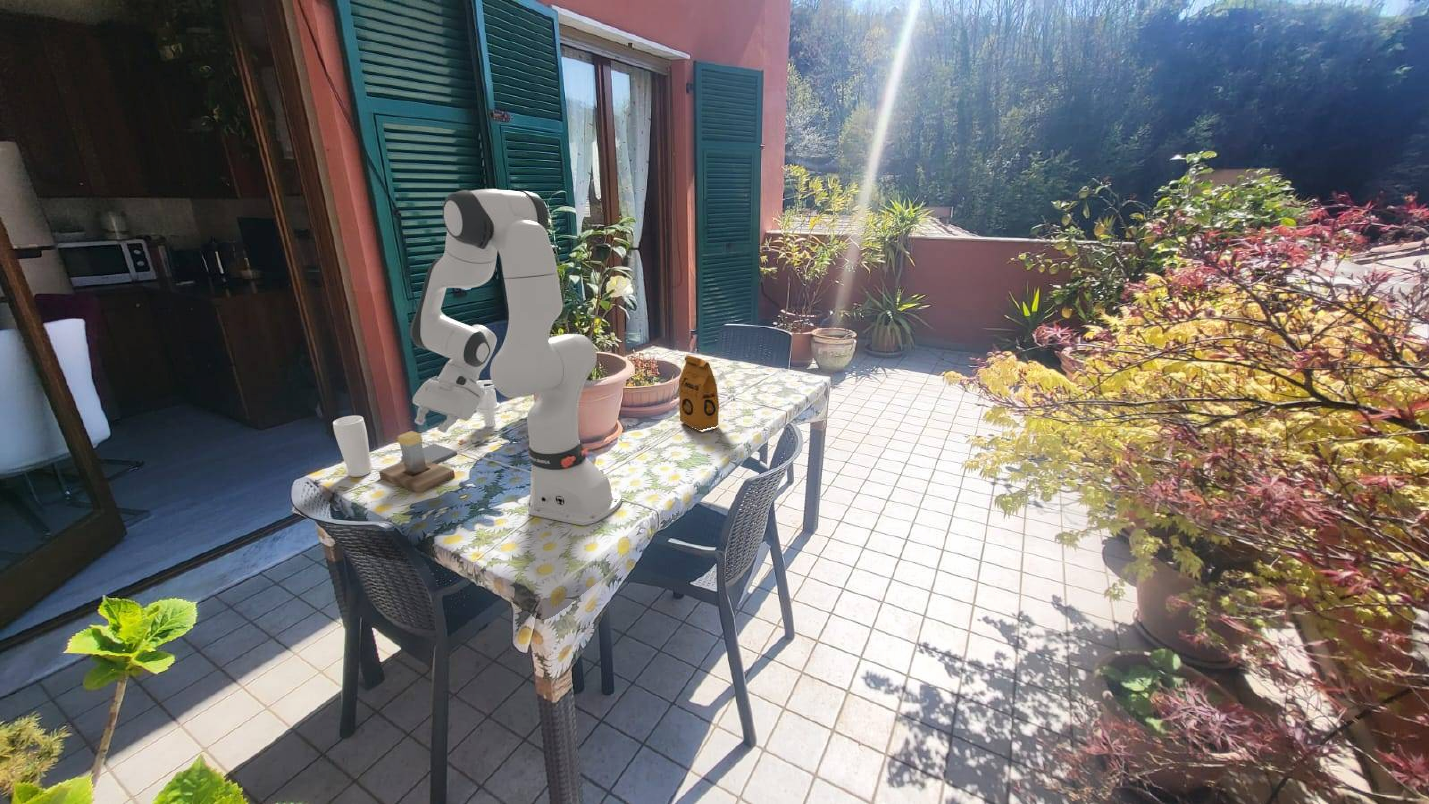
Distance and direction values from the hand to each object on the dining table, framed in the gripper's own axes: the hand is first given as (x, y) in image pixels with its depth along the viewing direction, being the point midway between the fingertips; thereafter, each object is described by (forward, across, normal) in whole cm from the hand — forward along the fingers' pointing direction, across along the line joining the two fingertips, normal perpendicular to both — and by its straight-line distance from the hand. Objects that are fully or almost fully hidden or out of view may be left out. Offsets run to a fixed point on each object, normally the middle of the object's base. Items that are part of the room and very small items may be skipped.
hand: (429, 427), depth 147 cm
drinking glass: (+17, -15, 0) cm, 22 cm away
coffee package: (-34, +45, +51) cm, 76 cm away
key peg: (+12, 0, +4) cm, 13 cm away
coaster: (+6, -8, +11) cm, 15 cm away
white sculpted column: (-11, -12, +28) cm, 32 cm away
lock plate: (+12, 0, +4) cm, 13 cm away
